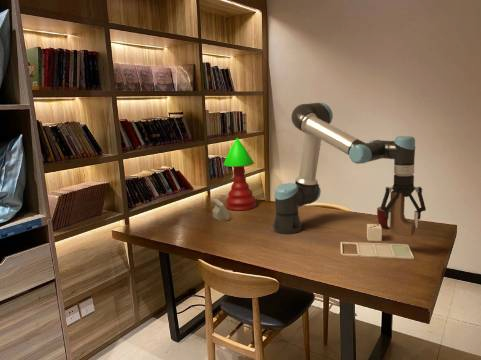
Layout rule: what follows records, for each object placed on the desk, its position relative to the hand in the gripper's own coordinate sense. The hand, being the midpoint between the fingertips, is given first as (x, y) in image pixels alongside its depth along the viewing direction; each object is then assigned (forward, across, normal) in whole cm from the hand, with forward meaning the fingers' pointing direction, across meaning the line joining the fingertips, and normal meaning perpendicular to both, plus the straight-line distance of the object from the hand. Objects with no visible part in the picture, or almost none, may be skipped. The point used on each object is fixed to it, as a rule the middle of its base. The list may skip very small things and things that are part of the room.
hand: (402, 226), depth 153 cm
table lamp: (+11, -87, +63) cm, 107 cm away
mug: (+12, -2, +30) cm, 32 cm away
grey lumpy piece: (+11, -93, +40) cm, 101 cm away
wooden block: (+3, 0, 0) cm, 3 cm away
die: (+11, -10, +15) cm, 21 cm away
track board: (+11, -11, 0) cm, 16 cm away
